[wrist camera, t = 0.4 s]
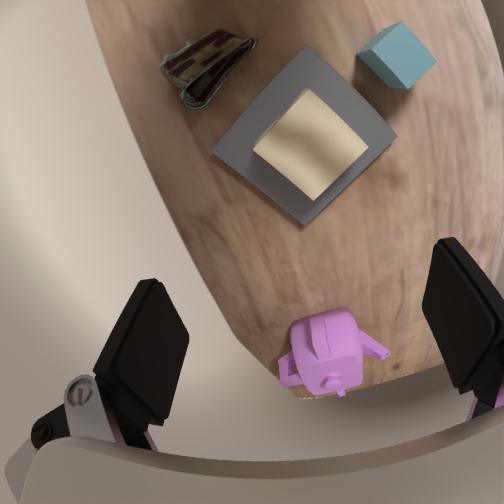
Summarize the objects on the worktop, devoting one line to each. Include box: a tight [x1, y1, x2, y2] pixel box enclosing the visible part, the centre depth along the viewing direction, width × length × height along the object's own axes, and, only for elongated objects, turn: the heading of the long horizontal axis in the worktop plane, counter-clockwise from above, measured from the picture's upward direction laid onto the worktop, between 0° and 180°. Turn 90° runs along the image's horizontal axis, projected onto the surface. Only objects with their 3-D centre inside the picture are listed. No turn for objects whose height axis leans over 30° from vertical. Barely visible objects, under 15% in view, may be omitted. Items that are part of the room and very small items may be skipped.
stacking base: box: [211, 46, 398, 226], centre depth 30 cm, size 18×16×6 cm
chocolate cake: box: [159, 29, 258, 112], centre depth 27 cm, size 10×7×12 cm
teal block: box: [356, 22, 437, 90], centre depth 23 cm, size 6×6×6 cm
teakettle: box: [278, 307, 390, 397], centre depth 47 cm, size 17×17×12 cm
